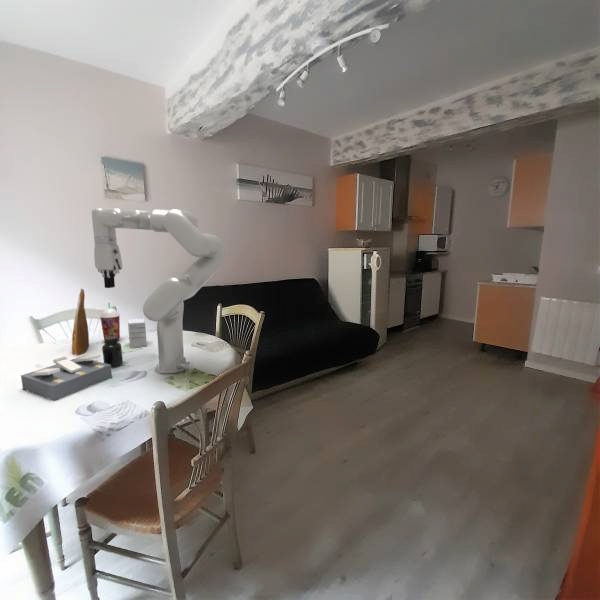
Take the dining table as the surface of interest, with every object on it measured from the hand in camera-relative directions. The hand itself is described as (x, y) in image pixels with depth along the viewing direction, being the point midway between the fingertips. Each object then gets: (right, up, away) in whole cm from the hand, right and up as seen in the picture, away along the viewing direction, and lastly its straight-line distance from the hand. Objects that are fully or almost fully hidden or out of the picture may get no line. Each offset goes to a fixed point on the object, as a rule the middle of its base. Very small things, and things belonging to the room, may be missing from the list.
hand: (109, 287), depth 129 cm
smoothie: (-19, -26, +33) cm, 46 cm away
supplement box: (-3, -28, +29) cm, 40 cm away
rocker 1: (-10, -30, -20) cm, 37 cm away
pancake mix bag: (-25, -29, +21) cm, 44 cm away
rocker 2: (-7, -28, -14) cm, 32 cm away
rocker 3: (-4, -27, -7) cm, 29 cm away
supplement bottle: (-1, -32, +4) cm, 33 cm away
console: (-7, -35, -12) cm, 38 cm away
